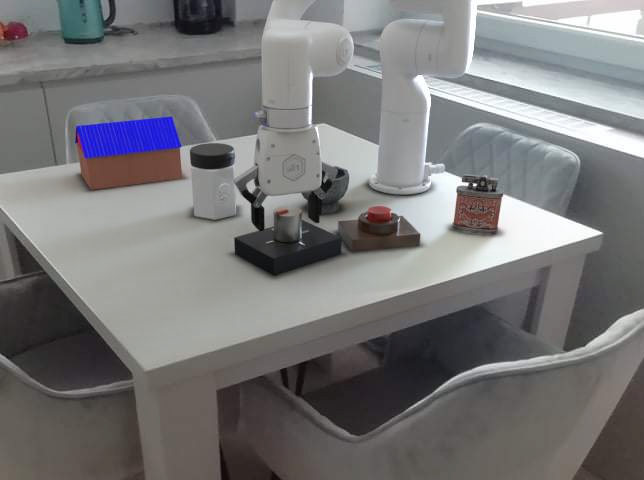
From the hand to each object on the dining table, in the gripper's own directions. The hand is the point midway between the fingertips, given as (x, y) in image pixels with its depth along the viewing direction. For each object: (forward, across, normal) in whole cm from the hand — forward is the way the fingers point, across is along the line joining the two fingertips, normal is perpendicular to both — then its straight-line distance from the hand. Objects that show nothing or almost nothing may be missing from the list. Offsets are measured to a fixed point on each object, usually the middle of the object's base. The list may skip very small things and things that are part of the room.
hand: (286, 224), depth 123 cm
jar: (+5, -5, +24) cm, 25 cm away
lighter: (+5, +35, -3) cm, 36 cm away
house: (+5, -15, +52) cm, 54 cm away
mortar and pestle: (+5, +14, +18) cm, 24 cm away
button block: (+5, +17, 0) cm, 18 cm away
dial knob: (+2, 0, 0) cm, 2 cm away
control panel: (+5, 0, 0) cm, 5 cm away
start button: (+2, +17, 0) cm, 17 cm away
